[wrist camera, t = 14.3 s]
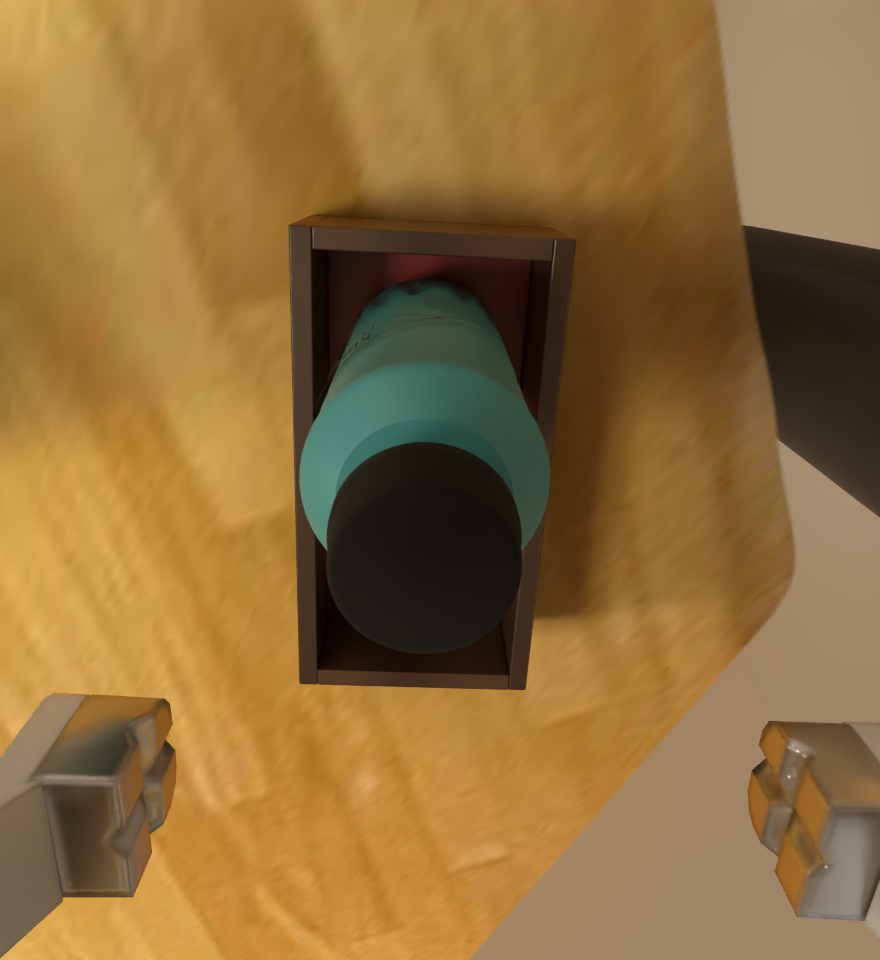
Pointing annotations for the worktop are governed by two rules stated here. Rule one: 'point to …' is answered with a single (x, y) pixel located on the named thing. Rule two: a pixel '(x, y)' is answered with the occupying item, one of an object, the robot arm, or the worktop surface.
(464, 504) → the beverage bottle
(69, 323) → the worktop surface
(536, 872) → the worktop surface
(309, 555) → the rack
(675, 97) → the worktop surface
